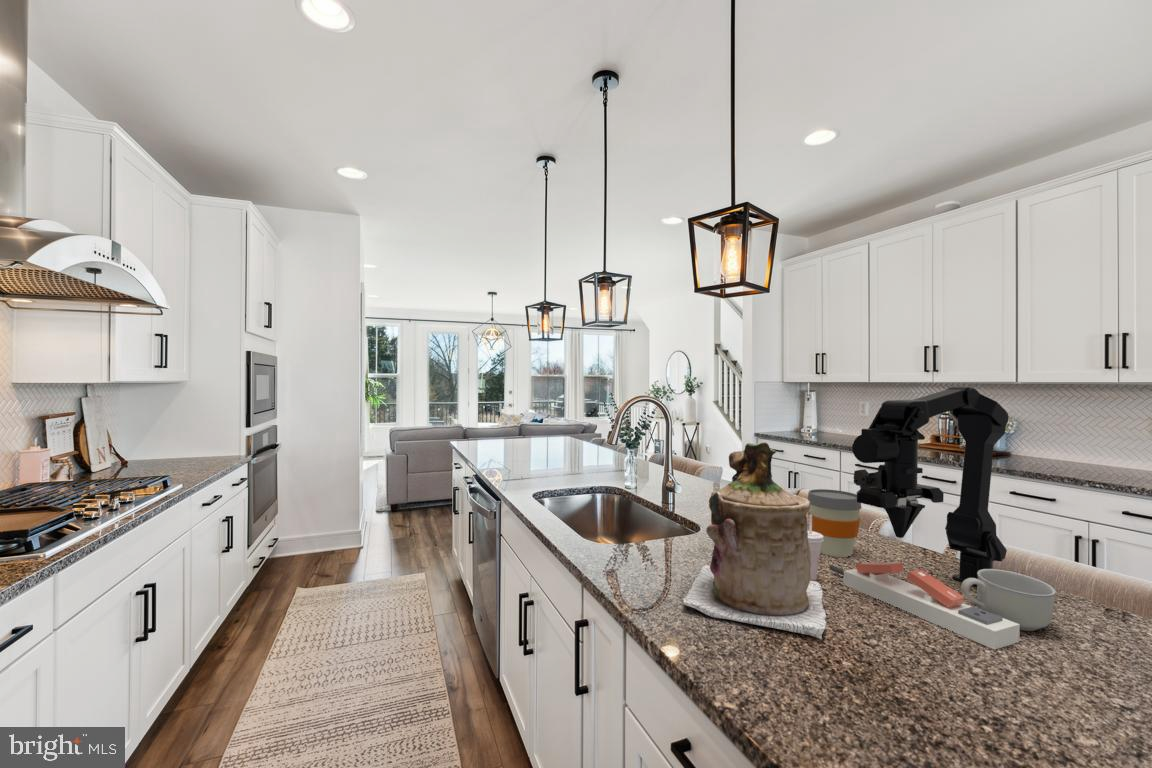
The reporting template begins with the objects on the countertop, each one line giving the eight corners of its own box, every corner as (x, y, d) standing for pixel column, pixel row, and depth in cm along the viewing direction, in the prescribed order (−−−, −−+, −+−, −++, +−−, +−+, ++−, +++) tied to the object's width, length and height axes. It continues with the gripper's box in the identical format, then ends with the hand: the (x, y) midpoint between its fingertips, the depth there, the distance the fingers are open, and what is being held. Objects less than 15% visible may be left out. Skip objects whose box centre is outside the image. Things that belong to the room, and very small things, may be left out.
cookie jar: (822, 590, 103) (825, 438, 104) (828, 645, 81) (831, 451, 81) (703, 570, 114) (706, 431, 114) (679, 613, 91) (682, 441, 92)
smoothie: (826, 584, 107) (827, 519, 107) (795, 581, 108) (796, 517, 108) (818, 573, 113) (819, 512, 113) (788, 570, 114) (789, 510, 114)
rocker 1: (869, 570, 107) (867, 561, 107) (904, 571, 99) (901, 562, 100) (857, 572, 105) (855, 563, 106) (892, 573, 98) (889, 564, 99)
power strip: (842, 570, 114) (842, 553, 115) (1019, 642, 83) (1019, 618, 83) (820, 574, 112) (820, 557, 112) (994, 649, 80) (994, 625, 80)
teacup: (1034, 615, 93) (1035, 573, 93) (1070, 643, 83) (1070, 595, 83) (947, 603, 98) (947, 563, 98) (970, 628, 88) (971, 583, 88)
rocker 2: (919, 576, 97) (921, 568, 96) (961, 604, 90) (964, 597, 89) (906, 578, 95) (909, 571, 95) (948, 607, 88) (952, 600, 88)
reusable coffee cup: (800, 542, 136) (801, 488, 136) (848, 545, 134) (849, 490, 134) (815, 558, 123) (816, 498, 123) (869, 561, 121) (870, 500, 121)
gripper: (893, 454, 112) (892, 523, 112) (834, 457, 105) (832, 530, 105) (945, 461, 102) (944, 537, 102) (883, 465, 95) (882, 546, 95)
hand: (899, 537), depth 101 cm, fingers closed
